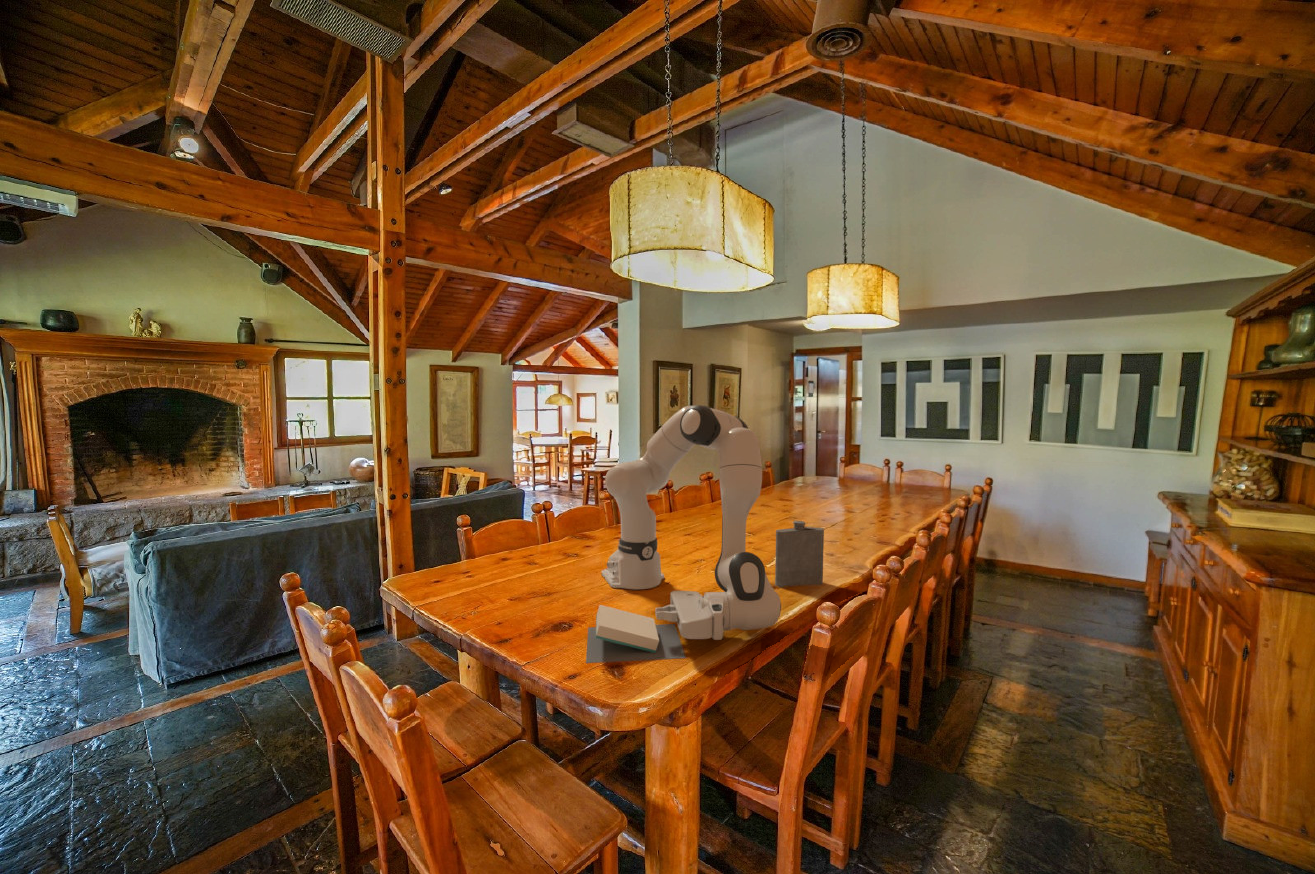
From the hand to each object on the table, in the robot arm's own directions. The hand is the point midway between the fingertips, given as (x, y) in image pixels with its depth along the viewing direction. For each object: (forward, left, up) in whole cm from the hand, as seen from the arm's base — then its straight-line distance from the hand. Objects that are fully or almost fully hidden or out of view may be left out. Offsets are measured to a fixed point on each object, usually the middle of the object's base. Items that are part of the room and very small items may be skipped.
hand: (655, 613), depth 122 cm
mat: (-2, -5, -7) cm, 9 cm away
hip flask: (-12, +60, -7) cm, 61 cm away
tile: (0, 0, -5) cm, 5 cm away
